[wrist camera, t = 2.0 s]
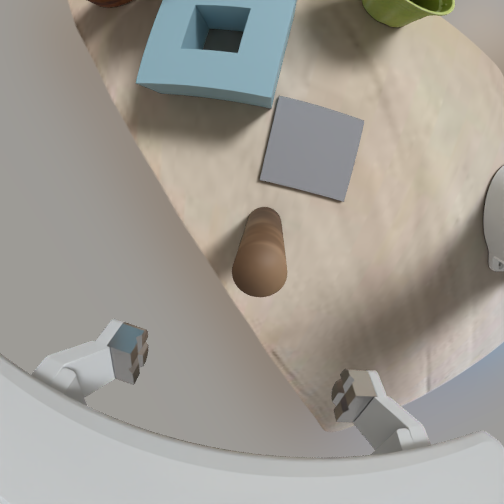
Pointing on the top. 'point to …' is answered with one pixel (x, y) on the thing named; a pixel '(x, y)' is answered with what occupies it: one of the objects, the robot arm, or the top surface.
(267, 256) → the peg
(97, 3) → the wooden figurine
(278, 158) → the pad
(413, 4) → the plant pot
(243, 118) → the top surface
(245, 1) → the socket
